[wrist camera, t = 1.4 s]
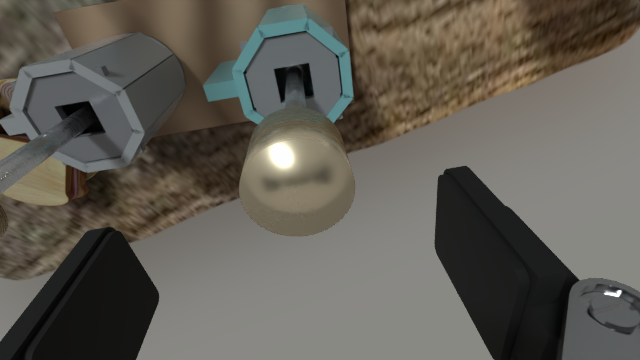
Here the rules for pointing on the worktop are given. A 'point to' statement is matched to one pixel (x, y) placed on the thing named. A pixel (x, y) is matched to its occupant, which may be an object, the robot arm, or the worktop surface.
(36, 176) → the toy sandwich meal
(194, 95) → the board
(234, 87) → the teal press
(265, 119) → the beige knobbed plunger
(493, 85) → the worktop surface
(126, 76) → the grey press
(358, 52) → the worktop surface
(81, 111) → the beige knobbed rod
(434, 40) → the worktop surface
